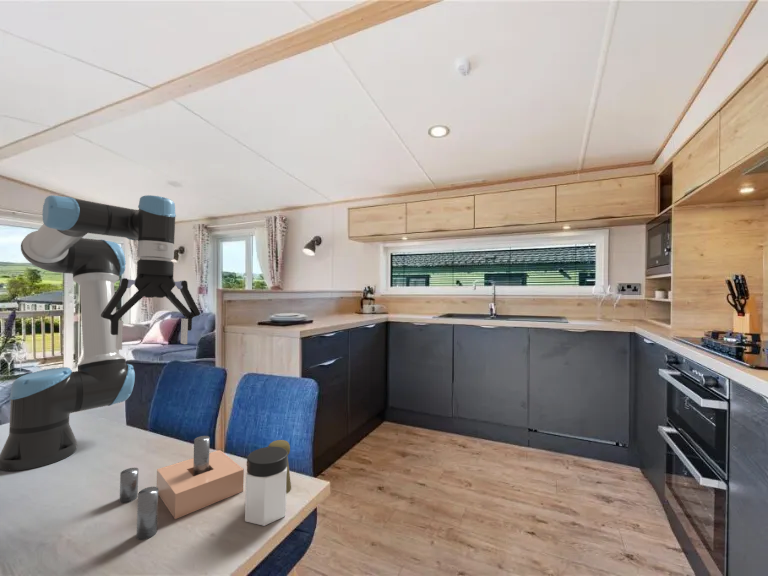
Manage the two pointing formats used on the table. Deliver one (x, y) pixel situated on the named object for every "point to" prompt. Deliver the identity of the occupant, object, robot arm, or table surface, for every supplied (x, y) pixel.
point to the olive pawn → (286, 446)
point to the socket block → (198, 484)
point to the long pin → (201, 455)
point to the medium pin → (147, 513)
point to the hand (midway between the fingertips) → (153, 346)
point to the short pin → (128, 485)
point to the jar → (266, 485)
